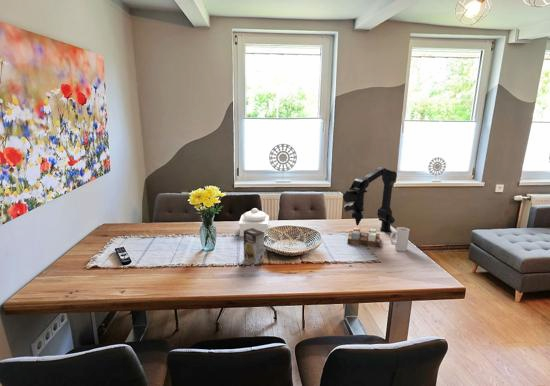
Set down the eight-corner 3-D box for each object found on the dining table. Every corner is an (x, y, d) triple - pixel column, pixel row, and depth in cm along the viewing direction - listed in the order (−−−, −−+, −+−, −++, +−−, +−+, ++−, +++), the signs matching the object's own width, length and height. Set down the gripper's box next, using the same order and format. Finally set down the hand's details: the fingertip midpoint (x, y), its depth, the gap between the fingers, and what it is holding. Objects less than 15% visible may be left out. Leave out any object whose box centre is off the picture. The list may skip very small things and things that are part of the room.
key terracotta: (353, 233, 204) (353, 226, 203) (360, 233, 203) (360, 227, 202) (352, 235, 200) (353, 229, 199) (359, 236, 199) (360, 229, 198)
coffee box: (243, 259, 173) (242, 230, 169) (252, 255, 178) (252, 227, 174) (255, 264, 167) (255, 235, 163) (264, 260, 172) (264, 231, 168)
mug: (404, 246, 190) (406, 227, 187) (409, 251, 183) (411, 231, 180) (387, 246, 190) (388, 226, 187) (390, 251, 183) (392, 231, 181)
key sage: (368, 234, 201) (368, 228, 200) (375, 235, 200) (375, 229, 199) (368, 236, 198) (368, 230, 197) (375, 237, 196) (375, 231, 195)
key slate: (352, 237, 197) (353, 230, 196) (359, 237, 196) (359, 231, 195) (352, 239, 194) (352, 233, 193) (359, 240, 192) (359, 233, 191)
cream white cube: (368, 238, 195) (368, 232, 194) (375, 239, 194) (375, 233, 193) (368, 241, 191) (368, 234, 190) (375, 242, 190) (375, 235, 189)
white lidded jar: (268, 237, 204) (267, 212, 200) (239, 237, 204) (238, 212, 200) (269, 227, 221) (269, 204, 217) (242, 227, 221) (241, 204, 217)
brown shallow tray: (349, 235, 206) (349, 230, 206) (379, 238, 201) (379, 234, 201) (347, 243, 193) (347, 239, 193) (379, 247, 188) (379, 242, 188)
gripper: (346, 195, 207) (345, 218, 211) (343, 203, 190) (342, 228, 193) (364, 196, 204) (363, 220, 208) (363, 204, 186) (361, 230, 190)
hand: (357, 224), depth 200 cm, fingers closed
